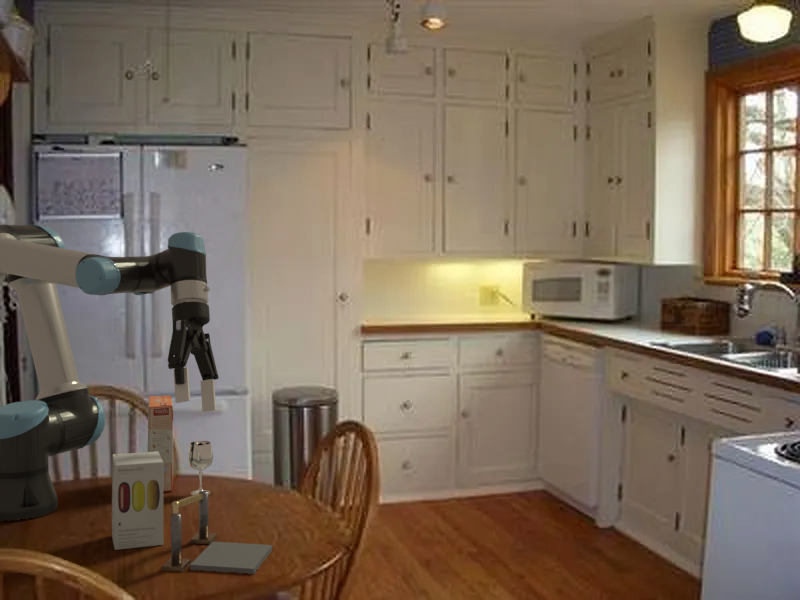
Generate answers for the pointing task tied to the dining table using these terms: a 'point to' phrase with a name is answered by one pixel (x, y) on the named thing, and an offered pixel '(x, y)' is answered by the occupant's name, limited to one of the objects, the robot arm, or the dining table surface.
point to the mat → (231, 557)
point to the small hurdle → (200, 538)
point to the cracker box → (162, 434)
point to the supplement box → (137, 500)
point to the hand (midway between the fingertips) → (196, 406)
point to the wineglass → (200, 459)
